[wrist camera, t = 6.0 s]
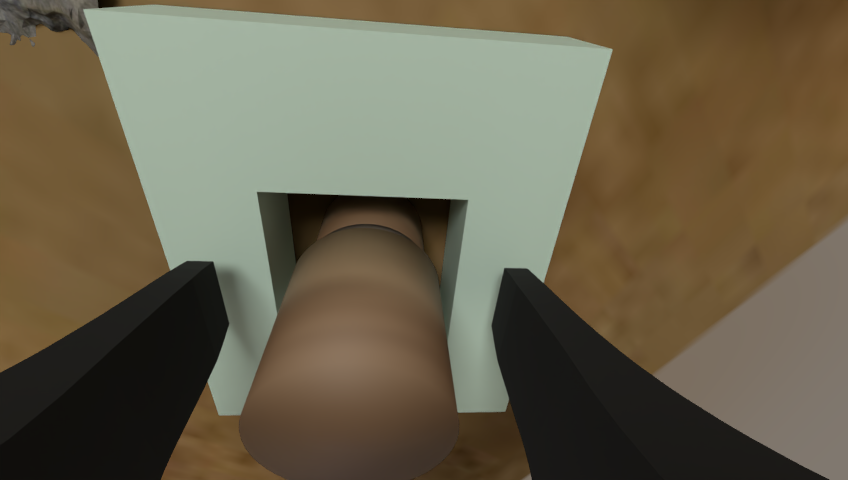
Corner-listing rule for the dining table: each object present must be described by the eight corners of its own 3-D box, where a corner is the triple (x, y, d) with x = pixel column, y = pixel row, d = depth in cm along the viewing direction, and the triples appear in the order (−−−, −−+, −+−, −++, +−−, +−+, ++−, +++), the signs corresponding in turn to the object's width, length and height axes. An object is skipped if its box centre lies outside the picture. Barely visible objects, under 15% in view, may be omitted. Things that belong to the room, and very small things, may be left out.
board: (491, 357, 16) (505, 411, 14) (242, 357, 16) (218, 415, 13) (567, 37, 10) (612, 49, 8) (154, 4, 9) (83, 9, 7)
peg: (428, 276, 14) (451, 486, 8) (319, 278, 14) (261, 495, 8) (432, 177, 12) (468, 358, 6) (306, 176, 12) (213, 365, 6)
